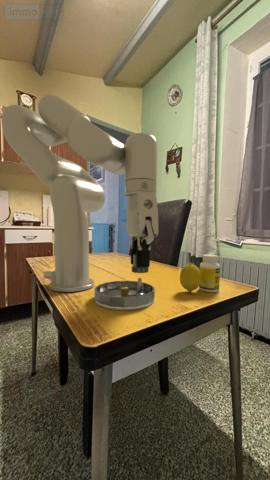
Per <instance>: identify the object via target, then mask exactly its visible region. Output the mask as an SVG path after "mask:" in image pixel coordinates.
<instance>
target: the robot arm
mask: <svg viewBox="0 0 270 480" xmlns="http://www.w3.org/2000/svg"><path fill="white" fill-rule="evenodd" d="M37 111H38V112H36V111H34V110H33V109H31V108H28V107H26V106H24V105H19V104H10V105H8V106H6V107H5V108H4V110H3V111H2V114H1V127H2V132H3V136H4V138H5V140H6V141H7V143H8V145H9V146H10V148H11V149H12V150H13V152H15V153H16V155H18V157H19V158H20V159H21V160H22V161H23V162H24V163H25V164H26V166H28V168H29V169H30V170H31V171H32V173H33V174H34V175H35V176H36V177H37V179H38V180H39V181H40V182H41V183H42V184H43V185H45V186H48V187H49V199H50V202H51V208H52V214H53V227H54V229H53V230H54V231H53V232H54V270H53V271H51V270H45V271H44V274H43V279H50V280H51V282H50V283H49V284H48V285H49V287H48V288H49V289H50V290H52V291H54V292H60V293H61V292H62V293H71V292H72V293H74V292H81V291H86V290H89V289H91V288H93V287H94V286H95V280H94V279H92V278H90V232H89V231H90V229H89V228H90V226H89V220H88V217H87V214H86V213H95V212H98V211H100V210H101V209H102V208H103V206H104V205H105V202H106V196H105V195H106V194H105V192H104V189H103V187H102V186H101V185H100V184H99V183H98V181H96V180H95V178H94V177H93V176H92V175H91V174H89V173H88V172H87V170H85V169H84V168H83V167H82V166H81V165H79V163H76V162H74V161H71V160H69V159H66V158H64V157H61V156H59V155H57V154H55V153H54V152H53V151H52V150H51V149H50V148H49V147H56V146H58V145H62V144H65V143H66V142H67V144H68V146H69V147H70V148H71V149H72V150H73V152H75V153H77V154H78V155H79V156H81V158H83V159H84V160H86V161H87V162H88V163H90V164H92V165H94V166H95V167H99V168H100V169H103V170H105V171H107V172H110V173H112V174H115V175H124V196H125V197H127V206H126V235H128V236H129V239H130V264H131V265H132V266H133V254H136V266H137V267H138V268H140V267H149V268H150V264H151V263H150V261H151V257H150V255H151V254H150V253H151V249H152V247H151V246H152V245H151V244H152V242H153V241H154V240H155V237H158V235H159V210H158V200H157V199H158V198H157V177H158V176H157V174H158V173H157V170H158V169H157V167H158V166H157V165H158V164H157V163H158V162H157V161H158V160H157V159H158V156H157V155H158V143H157V142H158V141H157V139H156V137H155V136H154V135H152V134H151V133H146V132H137V133H133V134H131V135H128V136H127V138H126V140H125V143H123V142H121V141H119V140H118V139H116V138H115V137H114V136H113V135H110V134H109V133H108V132H106V131H105V130H103V129H101V128H100V127H98V126H97V125H95V124H94V123H92V121H91V120H90V117H89V116H87V115H86V114H84V113H83V112H82V111H80V110H79V109H78V108H77V107H74V106H73V105H72V104H70V103H69V102H68V101H66V100H65V99H63V98H62V97H60V96H58V95H56V94H45V95H43V96H42V97H41V98H40V99H39V101H38V104H37Z"/></svg>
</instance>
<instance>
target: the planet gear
mask: <svg viewBox="0 0 270 480" xmlns="http://www.w3.org/2000/svg"><path fill="white" fill-rule="evenodd" d="M149 268H150V266H149V267H140V268H138V267H137V266H136V254H133V265H132V266H131V273H134V274H147V273H148V272H149Z"/></svg>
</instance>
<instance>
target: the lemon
mask: <svg viewBox="0 0 270 480" xmlns="http://www.w3.org/2000/svg"><path fill="white" fill-rule="evenodd" d="M200 282H201V274H200V268H198V266H196V265H195V264H193V263H192V262H189V263H188V264H186V265H184V266H183V267H182V268H181V270H180V273H179V283H180V285H181V287H182V288H183V289H184V290H186V291H187V292H188V293H192V292H193V291H196V290H197V289H199V285H200Z"/></svg>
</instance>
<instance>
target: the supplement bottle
mask: <svg viewBox="0 0 270 480" xmlns="http://www.w3.org/2000/svg"><path fill="white" fill-rule="evenodd" d="M218 260H219V256H218V255H215V254H203V255H202V262H200V264H199V270H200V274H201V282H200V285H199V287H198V289H199V290H200V291H201V292H202V291H203V292H206V293H217V292H219V291H220V284H221V283H220V282H221V281H220V280H221V277H220V276H221V266H220V264H219V263H218Z"/></svg>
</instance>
